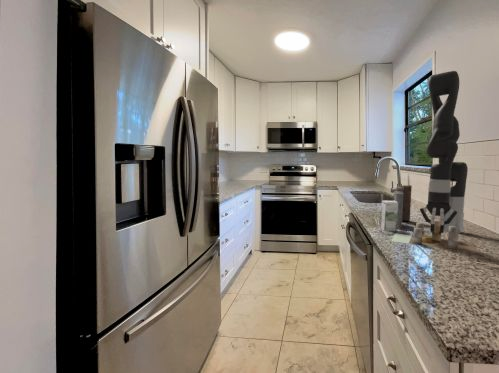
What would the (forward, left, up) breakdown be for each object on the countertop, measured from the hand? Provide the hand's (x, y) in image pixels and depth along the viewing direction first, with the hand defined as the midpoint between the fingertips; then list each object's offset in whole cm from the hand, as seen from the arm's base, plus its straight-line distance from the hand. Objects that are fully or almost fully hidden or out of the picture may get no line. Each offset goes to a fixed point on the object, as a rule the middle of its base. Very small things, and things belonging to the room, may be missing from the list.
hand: (436, 233), depth 131 cm
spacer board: (-1, +1, -5) cm, 5 cm away
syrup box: (-4, -26, -5) cm, 27 cm away
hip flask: (-18, -32, -5) cm, 37 cm away
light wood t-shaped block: (-3, -2, -1) cm, 3 cm away
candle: (-32, -40, -5) cm, 52 cm away
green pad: (+7, -11, -5) cm, 13 cm away
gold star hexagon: (+2, -3, -4) cm, 5 cm away
